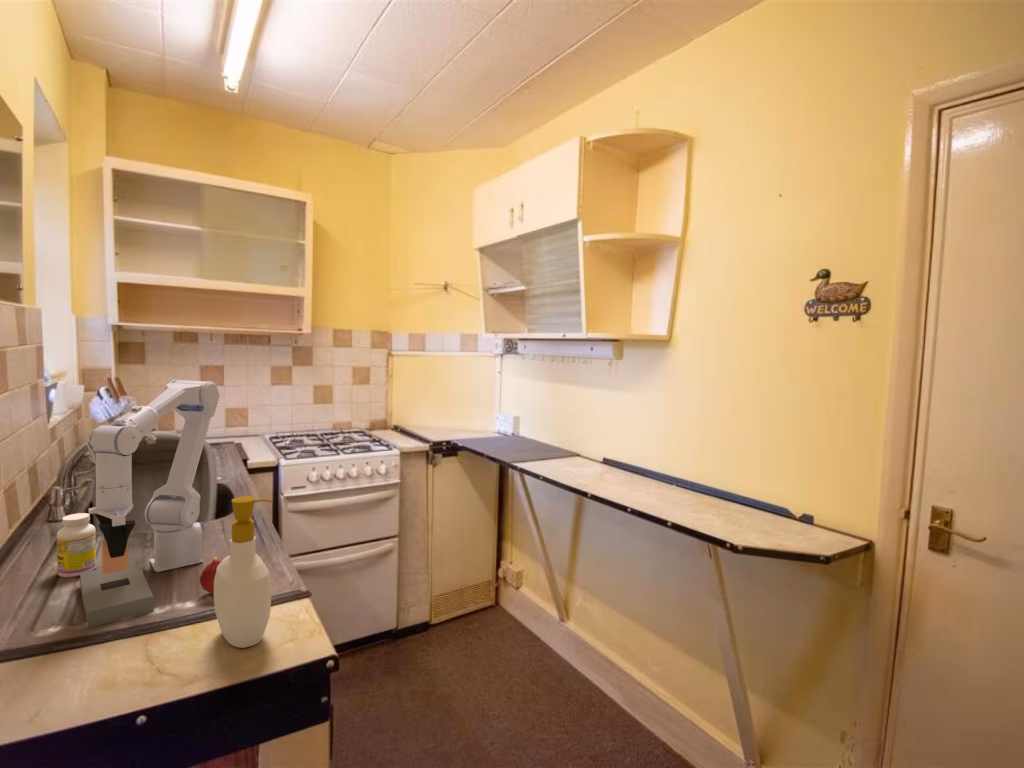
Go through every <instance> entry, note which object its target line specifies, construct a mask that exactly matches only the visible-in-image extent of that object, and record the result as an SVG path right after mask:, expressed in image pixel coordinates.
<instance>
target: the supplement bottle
mask: <svg viewBox="0 0 1024 768" xmlns="http://www.w3.org/2000/svg"><path fill="white" fill-rule="evenodd" d="M90 515H91V514H89V512H88V513H86V512H77V513H73V514H72V513H71V514H68V515H65V516H63V517H62V519H61V520H62V521H61V523H62V526H63V527H62V528H61V529H59V530H58V531H57V533H56V554H57V555H56V559H57V560H56V562H57V564H56V565H57V575H58V576H59V577H61V578H75V577H80V573H83V572H88V571H93V570H96V567H97V549H96V548H97V547H96V545H97V543H96V542H97V539H96V538H97V537H96V535H97V534H96V527H95V526H94V525H93V524H91V523H90V520H91V517H90Z"/></svg>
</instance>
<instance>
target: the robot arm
mask: <svg viewBox="0 0 1024 768" xmlns="http://www.w3.org/2000/svg"><path fill="white" fill-rule="evenodd" d="M220 396H221V395H220V391H219V390H218V386H217V384H216V383H215V382H214V381H210V380H207V381H203V380H187V379H186V380H184V379H183V380H182V379H178V378H176V379H172V380H171V381H170V382H169V383H166V384H165V386H164V391H163V392H161V393H160V394H159V395H158V396H157V397H156V398H154V399H153V400H152V401H151V402H149V403H148V404H147V405H133V406H132V407H130V410H129V411H127V412H126V413H125V414H123V415H122V416H120V417H118V418H115V419H114V420H113V422H111V423H110V424H109V425H106V424H105V425H103V424H102V425H99V426H98V427H96V428H94V429H93V430H92V431H91V432H90V434H89V437H88V440H87V441H86V447H87V450H88V451H89V452H90V453H91V456H92V461H93V463H94V464H95V499H96V500H95V503H96V505H95V506H94V507H90V508H88V514H89V515H94V516H95V517H96V519H97V520H98V522H99V523H98V528H99V530H100V531H101V533H102V535H103V538H104V539H103V540H106V542H107V546H108V551H109V554H110V557H111V558H115V557H120V556H124V553H125V550H126V546H127V541H128V542H129V537H130V534H131V532H132V530H133V529H134V527H135V526H136V521H135V520H134V519H133V520H126V517H127V516H128V514H129V513H130V512H131V511H132V510H133V508H134V502H133V481H132V480H133V478H132V476H133V473H132V472H133V471H132V470H133V466H132V463H133V462H132V457H133V455H132V454H134V453H135V452H136V450H137V449H138V447H139V446H140V445H139V444H140V443H141V441H142V439H144V437H145V436H146V435H148V434H149V433H150V432H152V431H153V430H154V429H155V428H156V427H158V425H159V424H160V418H162V417H163V416H164V415H165V416H166V414H168V413H169V412H172V410H175V412H176V413H177V415H179V416H181V417H182V418H183V419H184V424H183V427H182V431H181V434H180V436H179V437H180V438H179V441H178V444H177V447H176V451H175V454H174V458H173V461H172V465H171V467H170V470H169V474H168V478H167V481H166V484H163V485H162V486H161V487H159V488H157V489H156V490H154V491H153V493H152V497H151V499H150V501H149V502H148V503H147V504H146V507H145V508H144V509H145V510H144V520H145V522H146V523H147V524H149V525H150V529H152V530H154V531H153V539H154V541H153V544H154V546H153V549H154V550H153V553H154V555H153V556H154V558H150V559H149V563H150V564H151V566H152V568H153V570H154V572H155V573H160V572H164V571H165V572H166V571H169V570H174V569H177V568H182V567H187V566H191V565H195V564H200V563H201V564H202V563H203V561H204V560H203V530H202V525H201V523H200V522H198V521H197V520H198V518H199V516H200V512H201V511H200V509H201V508H200V504H201V503H200V502H201V494H200V493H199V492H198V491H197V490H195V488H194V487H193V483H194V480H195V478H196V477H195V476H196V473H197V470H198V469H197V468H198V465H199V462H200V458H201V456H202V452H203V447H204V445H205V442H206V438H207V433H208V430H209V427H210V423H211V419H212V418H213V417H214V416H215V415H216V414H215V413H216V410H217V406H218V403H219V400H220Z"/></svg>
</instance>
